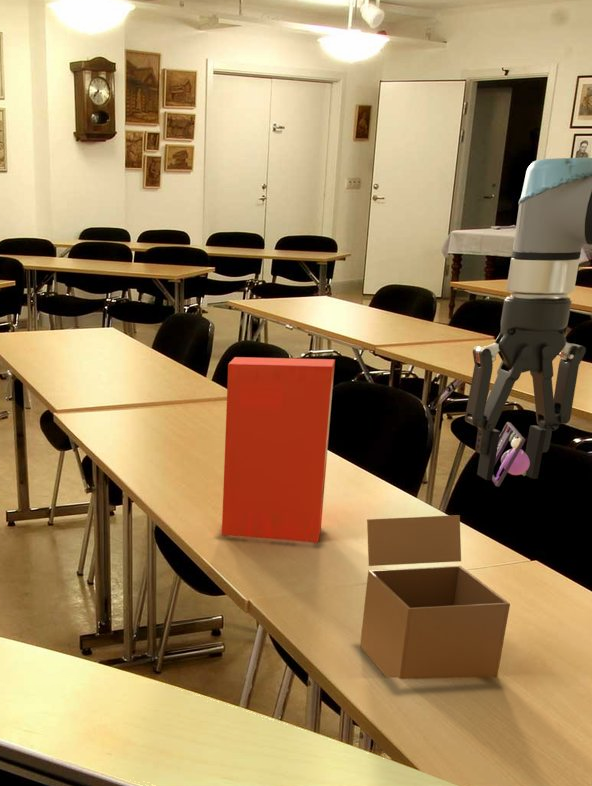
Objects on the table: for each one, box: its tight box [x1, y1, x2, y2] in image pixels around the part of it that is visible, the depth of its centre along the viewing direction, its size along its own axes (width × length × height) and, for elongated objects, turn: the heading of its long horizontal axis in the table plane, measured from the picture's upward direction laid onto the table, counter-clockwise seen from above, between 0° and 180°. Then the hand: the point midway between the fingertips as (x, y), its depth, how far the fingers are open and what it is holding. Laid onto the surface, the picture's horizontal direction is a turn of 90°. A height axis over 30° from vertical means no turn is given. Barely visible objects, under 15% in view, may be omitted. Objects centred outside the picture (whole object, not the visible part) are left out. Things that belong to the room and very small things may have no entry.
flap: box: [366, 514, 462, 567], centre depth 122 cm, size 6×13×1 cm
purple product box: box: [491, 421, 530, 488], centre depth 120 cm, size 7×5×9 cm
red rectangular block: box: [221, 356, 336, 544], centre depth 163 cm, size 8×17×32 cm, turn 71°
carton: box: [359, 565, 511, 680], centre depth 119 cm, size 13×13×11 cm
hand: (507, 476), depth 121 cm, fingers closed on purple product box, 5 cm apart
